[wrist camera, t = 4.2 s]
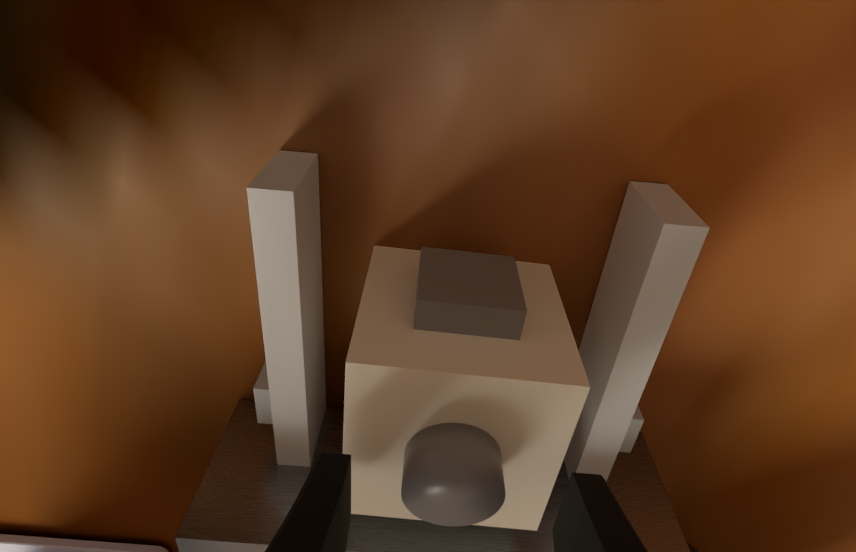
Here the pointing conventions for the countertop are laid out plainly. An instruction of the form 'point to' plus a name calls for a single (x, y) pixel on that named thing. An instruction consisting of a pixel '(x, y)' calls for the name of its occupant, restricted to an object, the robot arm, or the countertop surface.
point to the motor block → (385, 536)
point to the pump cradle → (600, 346)
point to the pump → (459, 389)
